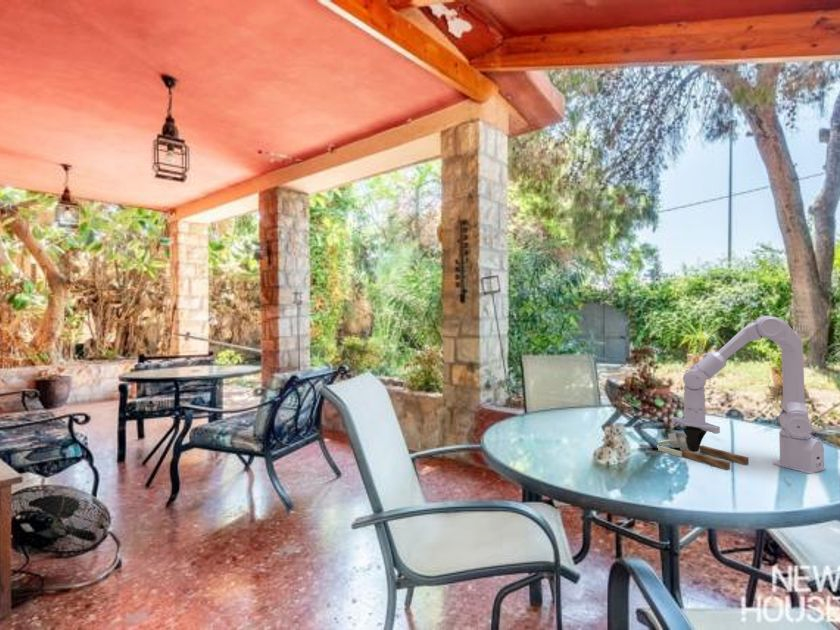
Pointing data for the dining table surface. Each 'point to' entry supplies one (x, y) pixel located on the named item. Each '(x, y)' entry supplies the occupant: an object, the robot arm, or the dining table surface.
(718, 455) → the slot rails
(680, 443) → the grey brown cube
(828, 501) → the dining table surface
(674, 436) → the greyish beige cube
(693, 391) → the robot arm
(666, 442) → the beige open frame
